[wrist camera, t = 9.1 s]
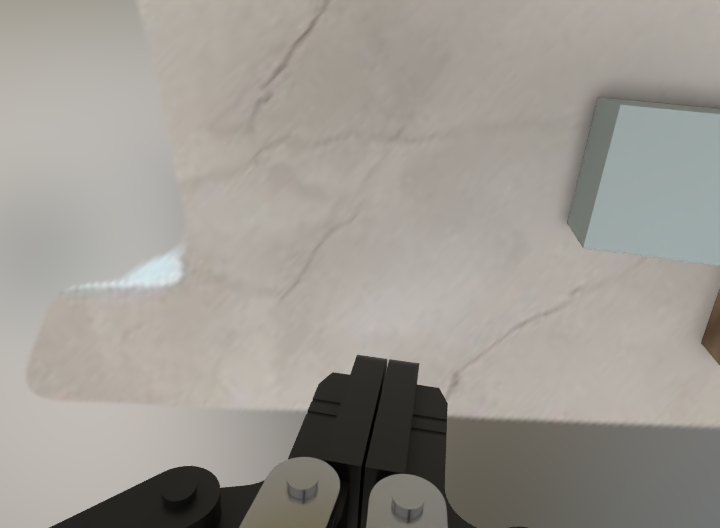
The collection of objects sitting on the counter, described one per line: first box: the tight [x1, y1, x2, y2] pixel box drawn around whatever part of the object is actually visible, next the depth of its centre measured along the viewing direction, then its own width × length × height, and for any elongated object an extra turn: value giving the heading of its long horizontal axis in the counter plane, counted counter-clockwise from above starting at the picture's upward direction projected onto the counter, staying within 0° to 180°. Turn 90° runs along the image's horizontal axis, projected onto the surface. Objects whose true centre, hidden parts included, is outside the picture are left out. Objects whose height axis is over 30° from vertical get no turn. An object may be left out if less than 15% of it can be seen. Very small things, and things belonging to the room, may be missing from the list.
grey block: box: [568, 97, 720, 266], centre depth 31 cm, size 8×10×5 cm
